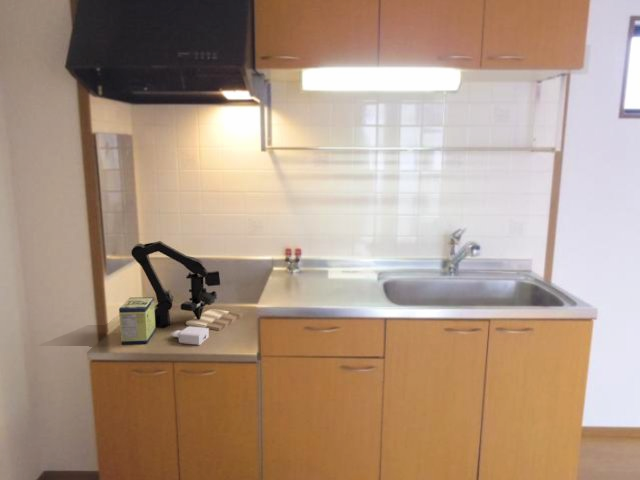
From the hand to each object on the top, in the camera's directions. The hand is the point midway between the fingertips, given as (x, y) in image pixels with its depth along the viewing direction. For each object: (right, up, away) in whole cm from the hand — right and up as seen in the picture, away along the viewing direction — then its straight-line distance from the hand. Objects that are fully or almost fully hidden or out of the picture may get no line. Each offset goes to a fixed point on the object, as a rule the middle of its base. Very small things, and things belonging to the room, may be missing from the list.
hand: (198, 319), depth 215 cm
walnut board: (+12, -2, +1) cm, 12 cm away
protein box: (-21, -5, -18) cm, 28 cm away
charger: (0, -6, -19) cm, 20 cm away
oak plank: (+3, -1, +4) cm, 5 cm away
